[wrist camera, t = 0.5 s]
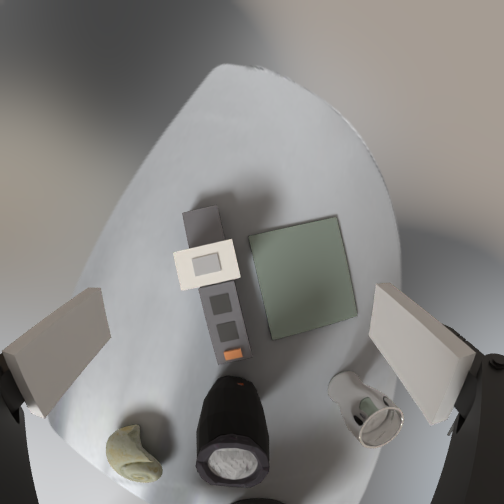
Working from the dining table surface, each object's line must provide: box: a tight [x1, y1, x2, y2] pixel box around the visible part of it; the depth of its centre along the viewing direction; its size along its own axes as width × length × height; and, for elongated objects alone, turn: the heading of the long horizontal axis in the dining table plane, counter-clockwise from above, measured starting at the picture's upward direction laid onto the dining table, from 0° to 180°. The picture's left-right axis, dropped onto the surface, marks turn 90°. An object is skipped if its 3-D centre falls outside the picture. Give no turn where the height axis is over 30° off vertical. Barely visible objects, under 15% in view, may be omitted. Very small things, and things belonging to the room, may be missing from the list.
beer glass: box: [327, 371, 404, 448], centre depth 35 cm, size 7×7×15 cm
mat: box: [248, 217, 357, 340], centre depth 43 cm, size 16×14×1 cm
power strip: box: [182, 205, 252, 365], centre depth 40 cm, size 22×5×4 cm, turn 13°
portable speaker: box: [196, 376, 269, 487], centre depth 32 cm, size 8×9×19 cm
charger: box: [173, 239, 241, 291], centre depth 36 cm, size 4×7×8 cm, turn 103°
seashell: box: [106, 424, 163, 483], centre depth 36 cm, size 13×8×10 cm
